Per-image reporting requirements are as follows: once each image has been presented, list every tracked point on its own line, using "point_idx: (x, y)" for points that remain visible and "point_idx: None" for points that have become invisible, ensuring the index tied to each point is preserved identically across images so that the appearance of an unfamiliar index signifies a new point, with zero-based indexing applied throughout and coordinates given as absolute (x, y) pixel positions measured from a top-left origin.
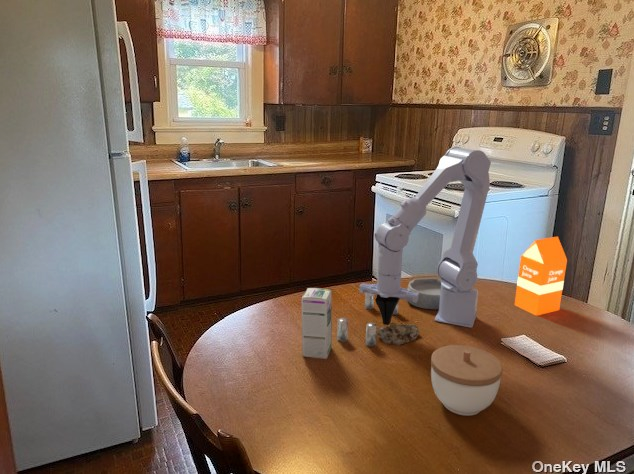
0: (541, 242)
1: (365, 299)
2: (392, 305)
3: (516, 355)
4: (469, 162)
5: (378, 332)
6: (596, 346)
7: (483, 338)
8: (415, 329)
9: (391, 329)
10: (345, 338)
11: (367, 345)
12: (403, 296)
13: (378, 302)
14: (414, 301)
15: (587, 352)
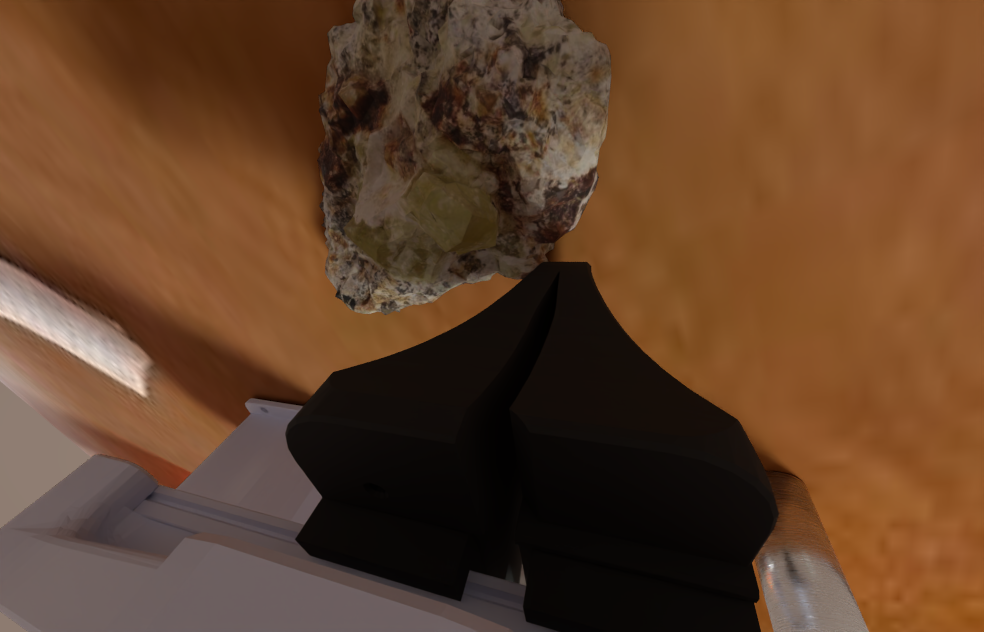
0: None
1: (833, 553)
2: (362, 373)
3: (18, 257)
4: None
5: (574, 23)
6: (32, 382)
7: (172, 339)
8: (333, 267)
9: (433, 120)
10: None
11: None
12: (80, 565)
13: (659, 415)
14: (93, 469)
15: (5, 349)
